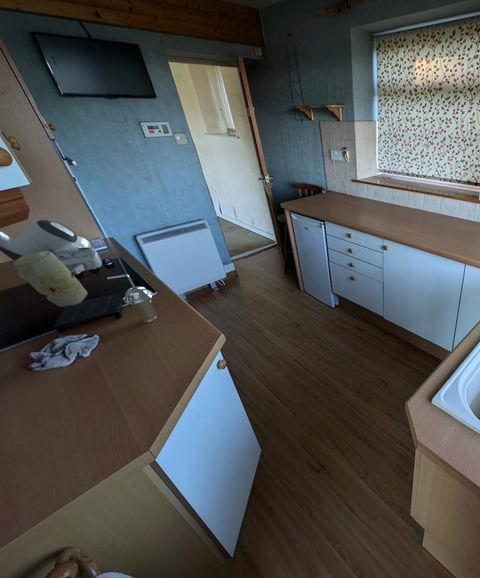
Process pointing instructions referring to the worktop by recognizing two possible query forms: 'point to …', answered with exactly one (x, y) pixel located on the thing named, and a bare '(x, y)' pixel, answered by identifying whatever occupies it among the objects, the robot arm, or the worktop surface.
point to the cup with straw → (139, 301)
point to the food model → (51, 278)
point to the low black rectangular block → (90, 311)
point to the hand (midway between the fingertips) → (55, 275)
